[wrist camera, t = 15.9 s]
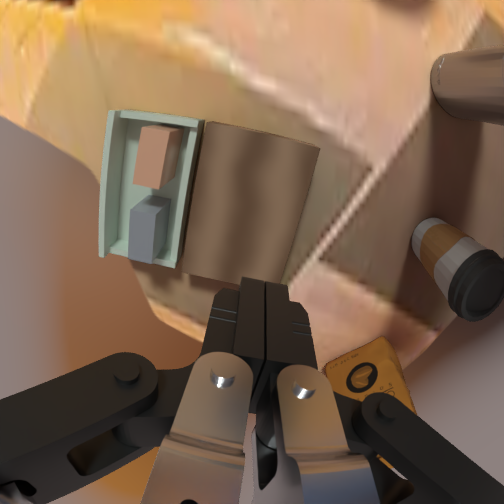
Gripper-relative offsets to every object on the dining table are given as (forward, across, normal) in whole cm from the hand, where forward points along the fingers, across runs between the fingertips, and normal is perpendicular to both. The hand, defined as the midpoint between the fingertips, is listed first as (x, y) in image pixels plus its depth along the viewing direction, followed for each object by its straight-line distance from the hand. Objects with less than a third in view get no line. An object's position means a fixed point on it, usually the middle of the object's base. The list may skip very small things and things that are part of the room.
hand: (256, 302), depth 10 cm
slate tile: (+23, +10, +9) cm, 27 cm away
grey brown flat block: (+27, +1, +5) cm, 28 cm away
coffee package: (+28, -24, +27) cm, 46 cm away
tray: (+27, +13, +5) cm, 30 cm away
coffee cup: (+28, -25, +3) cm, 38 cm away
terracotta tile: (+23, +10, 0) cm, 25 cm away
